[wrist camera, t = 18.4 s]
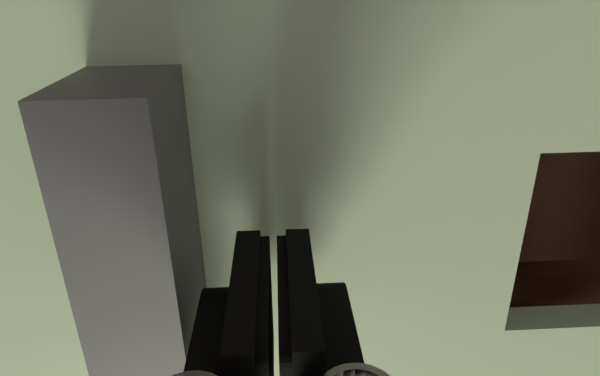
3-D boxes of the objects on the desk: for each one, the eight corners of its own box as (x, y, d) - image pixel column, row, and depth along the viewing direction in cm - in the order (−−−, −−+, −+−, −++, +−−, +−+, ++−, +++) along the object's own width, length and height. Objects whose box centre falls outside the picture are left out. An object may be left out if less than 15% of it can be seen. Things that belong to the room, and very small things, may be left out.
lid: (884, -49, 11) (1187, -60, 7) (689, 398, 17) (804, 517, 13) (-307, -31, 10) (-640, -32, 6) (-79, 438, 16) (-185, 579, 12)
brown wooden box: (857, -45, 19) (1223, -54, 12) (730, 258, 25) (922, 379, 17) (189, -35, 18) (131, -37, 11) (220, 279, 24) (196, 416, 16)
